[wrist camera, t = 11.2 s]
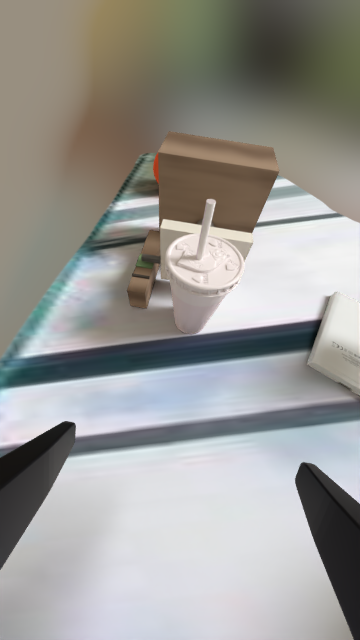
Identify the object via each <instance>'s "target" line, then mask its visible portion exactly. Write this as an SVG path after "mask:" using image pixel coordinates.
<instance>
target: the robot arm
mask: <svg viewBox="0 0 360 640" xmlns="http://www.w3.org/2000/svg"><path fill="white" fill-rule="evenodd" d="M75 430H76V425H75V423H73V422H68V421H64V422H62V423H60V424H59V425H57V426H55V427H53V428H52V429H50V430H48V431H46V432H45V433H43V434H41V435H39V436H38V437H36V438H34V439H32V440H31V441H29V442H27V443H25V444H24V445H22V446H20V447H18V448H17V449H15V450H13V451H11V452H10V453H8V454H6V455H4V456H3V457H1V458H0V570H1V568H2V567H3V565H4V563H5V562H6V560H7V559H8V557H9V555H10V554H11V552H12V551H13V549H14V547H15V546H16V544H17V543H18V541H19V539H20V538H21V536H22V535H23V533H24V532H25V530H26V528H27V527H28V525H29V524H30V522H31V520H32V519H33V517H34V516H35V514H36V512H37V511H38V509H39V508H40V506H41V504H42V503H43V501H44V500H45V498H46V496H47V495H48V493H49V491H50V489H51V488H52V486H53V484H54V482H55V480H56V478H57V476H58V474H59V472H60V470H61V469H62V467H63V465H64V463H65V461H66V459H67V457H68V455H69V453H70V451H71V449H72V447H73V445H74V442H75ZM295 483H296V487H297V490H298V494H299V497H300V500H301V503H302V506H303V509H304V512H305V515H306V518H307V521H308V524H309V527H310V530H311V533H312V536H313V539H314V542H315V544H316V547H317V549H318V552H319V554H320V557H321V559H322V562H323V564H324V567H325V569H326V572H327V574H328V577H329V579H330V581H331V584H332V586H333V589H334V591H335V594H336V596H337V599H338V601H339V604H340V606H341V609H342V611H343V614H344V616H345V619H346V621H347V624H348V626H349V628H350V631H351V633H352V636H353V638H354V640H360V504H359V503H358V502H357V501H356V500H355V499H353V498H352V497H351V496H350V495H349V494H348V493H347V492H345V491H344V490H343V489H342V488H341V487H340V486H338V485H337V484H336V483H335V482H334V481H333V480H332V479H330V478H329V477H328V476H327V475H326V474H325V473H323V472H322V471H321V470H320V469H319V468H318V467H317V466H315V465H314V464H311V463H305V462H302V463H301V464H300V467H299V470H298V472H297V475H296V478H295Z"/></svg>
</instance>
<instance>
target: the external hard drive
mask: <svg viewBox="0 0 360 640" xmlns="http://www.w3.org/2000/svg"><path fill="white" fill-rule="evenodd" d="M307 365H308V366H310V367H312V368H313V369H315V370H317V371H318V372H320V373H322V374H323V375H325V376H327V377H328V378H330V379H332V380H334V381H335V382H337V383H340V384H341V385H343V386H345V387H347V388H348V389H350V391H352V392H353V393H355V394H357V395H359V396H360V302H359V301H356V300H354V299H352V298H350V297H348V296H346V295H344V294H342V293H340V292H335V293H334V294H333V295H331V296H330V299H329V302H328V305H327V308H326V311H325V313H324V316H323V319H322V322H321V325H320V328H319V331H318V333H317V336H316V339H315V342H314V345H313V348H312V351H311V354H310V356H309V359H308V362H307Z"/></svg>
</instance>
